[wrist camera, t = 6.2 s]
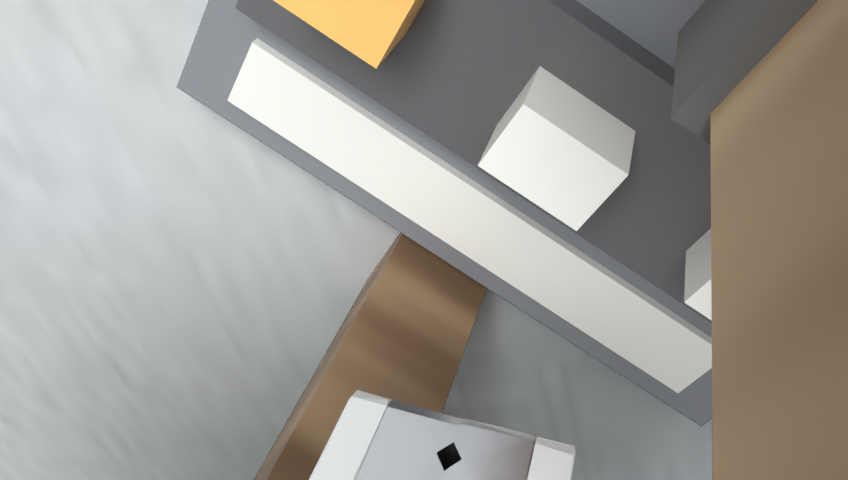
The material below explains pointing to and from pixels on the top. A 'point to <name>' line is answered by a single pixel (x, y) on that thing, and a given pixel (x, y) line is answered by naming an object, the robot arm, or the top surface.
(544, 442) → the robot arm
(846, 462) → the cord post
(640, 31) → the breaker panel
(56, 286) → the top surface
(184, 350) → the top surface
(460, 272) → the post
